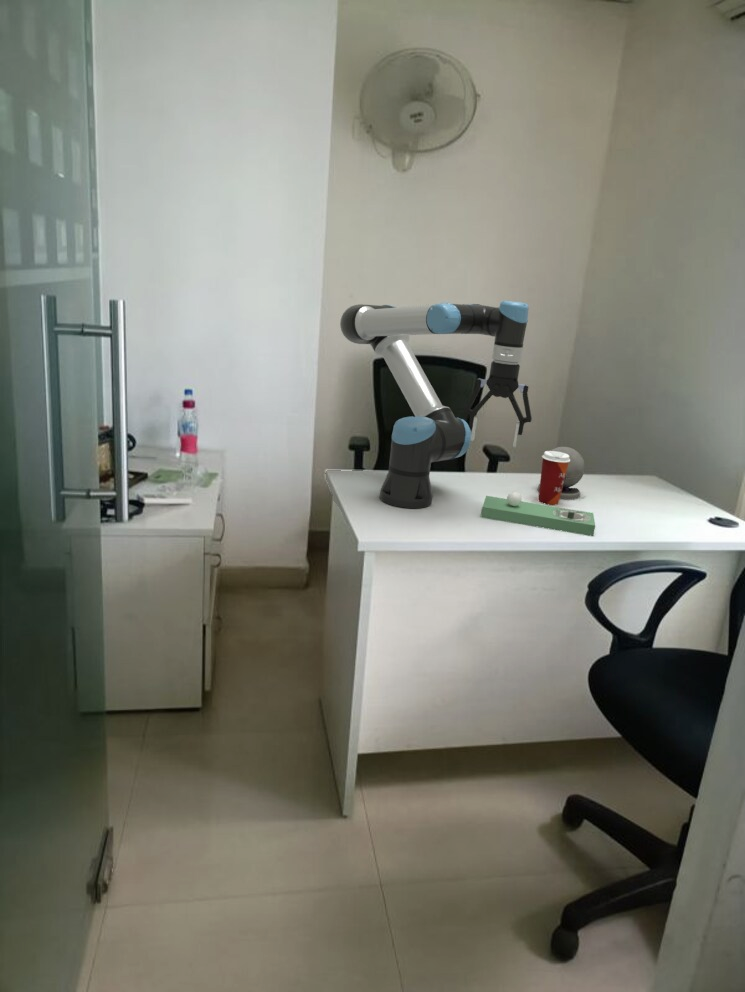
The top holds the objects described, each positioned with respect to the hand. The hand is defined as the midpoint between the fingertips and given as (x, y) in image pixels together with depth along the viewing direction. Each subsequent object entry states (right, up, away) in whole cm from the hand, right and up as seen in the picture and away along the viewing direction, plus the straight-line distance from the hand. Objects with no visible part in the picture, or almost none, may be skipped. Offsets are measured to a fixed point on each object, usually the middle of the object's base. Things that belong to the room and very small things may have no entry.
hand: (493, 442), depth 193 cm
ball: (+6, -15, +3) cm, 17 cm away
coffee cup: (+20, -16, +21) cm, 33 cm away
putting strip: (+13, -21, +3) cm, 25 cm away
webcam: (+26, -14, +30) cm, 42 cm away
